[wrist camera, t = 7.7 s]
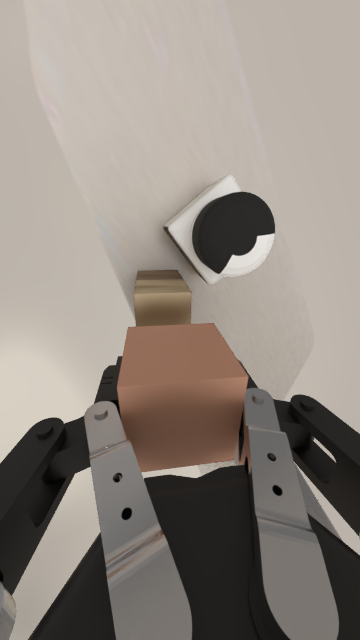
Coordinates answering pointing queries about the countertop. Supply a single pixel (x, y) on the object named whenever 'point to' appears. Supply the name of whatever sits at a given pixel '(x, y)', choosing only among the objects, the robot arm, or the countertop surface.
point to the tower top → (162, 302)
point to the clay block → (180, 395)
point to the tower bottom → (158, 275)
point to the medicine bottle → (223, 231)
